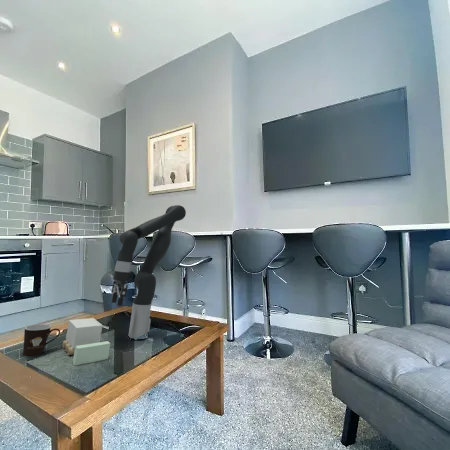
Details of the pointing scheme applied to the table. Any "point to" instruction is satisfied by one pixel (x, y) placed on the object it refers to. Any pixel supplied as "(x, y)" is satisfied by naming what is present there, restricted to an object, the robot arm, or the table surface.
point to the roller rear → (64, 343)
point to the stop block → (91, 353)
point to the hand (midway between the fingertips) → (116, 304)
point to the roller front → (70, 351)
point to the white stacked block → (83, 332)
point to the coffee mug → (36, 339)
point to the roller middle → (67, 347)
